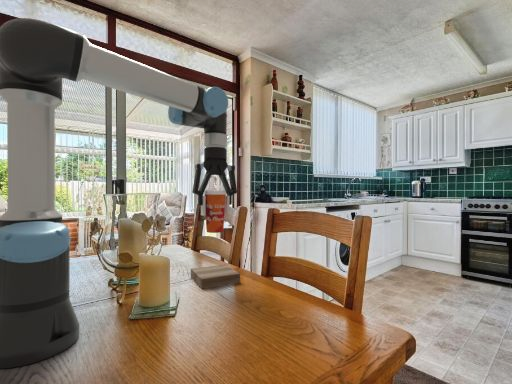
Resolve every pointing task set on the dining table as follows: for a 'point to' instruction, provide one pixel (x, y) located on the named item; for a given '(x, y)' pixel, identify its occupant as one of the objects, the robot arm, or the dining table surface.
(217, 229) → the paper cup
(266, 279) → the dining table surface
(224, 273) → the walnut plinth
